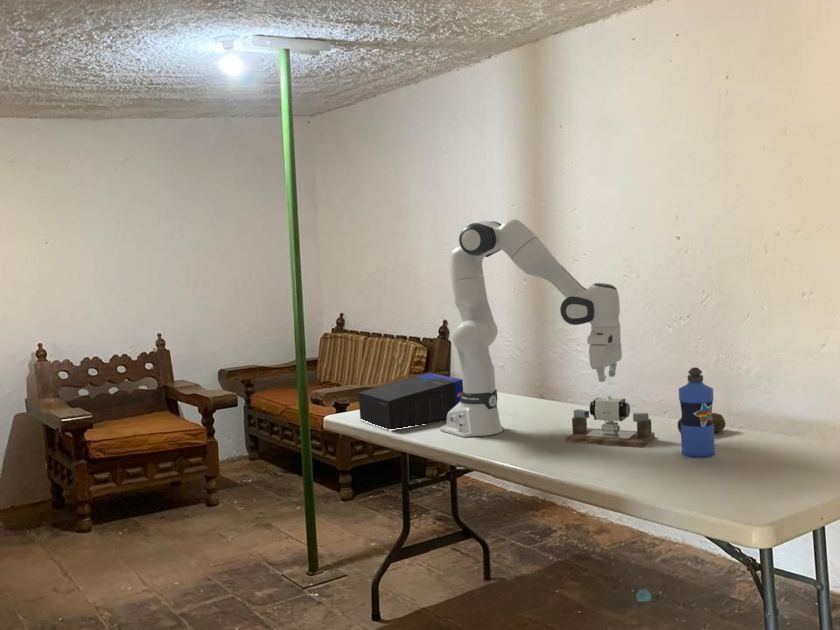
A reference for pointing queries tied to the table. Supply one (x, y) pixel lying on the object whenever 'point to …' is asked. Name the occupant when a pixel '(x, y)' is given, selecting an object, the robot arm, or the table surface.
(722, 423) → the brown wooden cylinder
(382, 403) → the headphone box
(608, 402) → the pneumatic valve
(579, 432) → the shaft rig base
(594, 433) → the grey long bracket
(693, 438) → the water bottle
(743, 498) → the table surface
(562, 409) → the table surface
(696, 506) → the table surface
